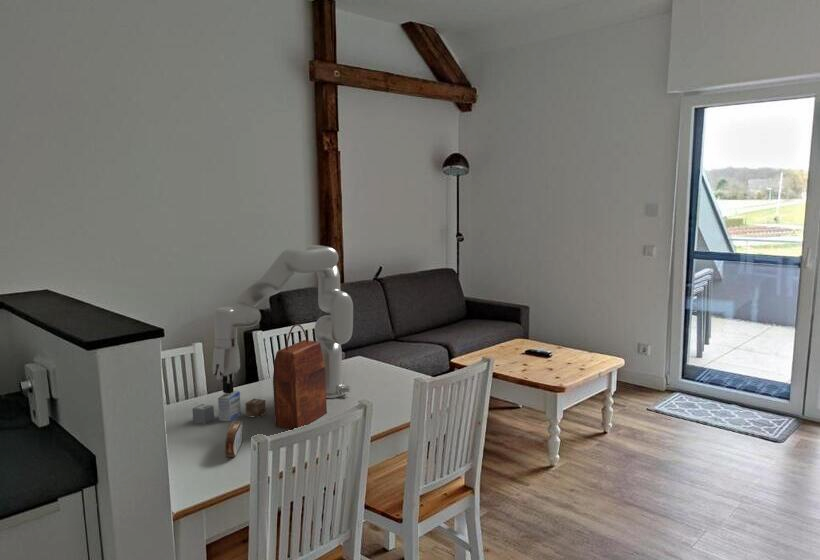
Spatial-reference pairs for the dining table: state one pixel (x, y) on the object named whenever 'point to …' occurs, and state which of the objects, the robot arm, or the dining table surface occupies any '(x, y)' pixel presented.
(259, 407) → the walnut block
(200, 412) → the slate-grey block
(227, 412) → the medicine box
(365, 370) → the dining table surface
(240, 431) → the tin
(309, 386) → the handbag
